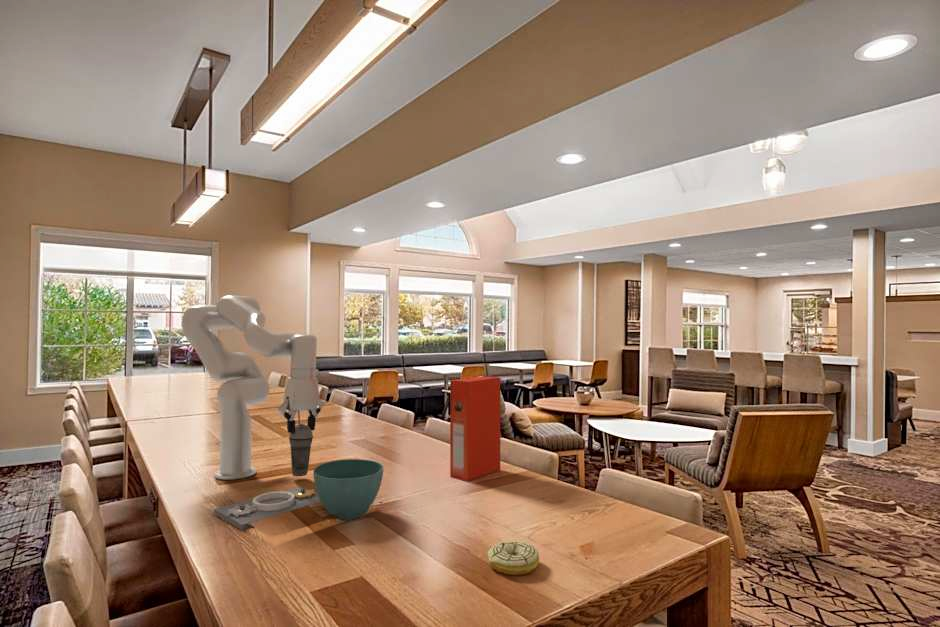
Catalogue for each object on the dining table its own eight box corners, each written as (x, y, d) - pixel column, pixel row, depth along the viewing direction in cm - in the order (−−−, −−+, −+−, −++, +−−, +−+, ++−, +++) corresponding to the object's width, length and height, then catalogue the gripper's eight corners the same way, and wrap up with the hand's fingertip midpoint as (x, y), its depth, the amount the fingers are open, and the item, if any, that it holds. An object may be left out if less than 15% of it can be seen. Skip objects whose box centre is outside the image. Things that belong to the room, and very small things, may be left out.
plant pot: (394, 506, 145) (395, 462, 145) (360, 531, 128) (360, 481, 128) (338, 499, 151) (338, 456, 151) (298, 522, 134) (298, 473, 134)
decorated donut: (495, 552, 117) (495, 535, 118) (543, 559, 114) (543, 542, 114) (482, 573, 108) (482, 554, 108) (533, 582, 104) (533, 563, 104)
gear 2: (285, 495, 149) (285, 490, 149) (307, 489, 154) (307, 484, 154) (298, 501, 144) (298, 495, 144) (320, 495, 149) (320, 489, 149)
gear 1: (222, 512, 135) (222, 506, 135) (248, 505, 141) (248, 499, 141) (234, 519, 131) (234, 513, 131) (261, 512, 136) (261, 505, 136)
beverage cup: (304, 478, 159) (306, 413, 159) (282, 476, 161) (285, 411, 161) (316, 471, 167) (318, 409, 167) (295, 469, 168) (297, 407, 168)
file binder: (449, 476, 173) (450, 380, 173) (482, 465, 186) (482, 376, 187) (468, 481, 168) (468, 382, 168) (500, 470, 181) (501, 377, 181)
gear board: (214, 514, 138) (214, 503, 138) (299, 491, 157) (299, 481, 157) (242, 530, 128) (242, 518, 128) (330, 504, 146) (330, 493, 147)
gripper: (320, 371, 173) (318, 425, 173) (271, 374, 160) (269, 433, 160) (333, 373, 168) (331, 429, 168) (283, 377, 155) (281, 437, 155)
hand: (301, 430), depth 164 cm, fingers closed on beverage cup, 6 cm apart
